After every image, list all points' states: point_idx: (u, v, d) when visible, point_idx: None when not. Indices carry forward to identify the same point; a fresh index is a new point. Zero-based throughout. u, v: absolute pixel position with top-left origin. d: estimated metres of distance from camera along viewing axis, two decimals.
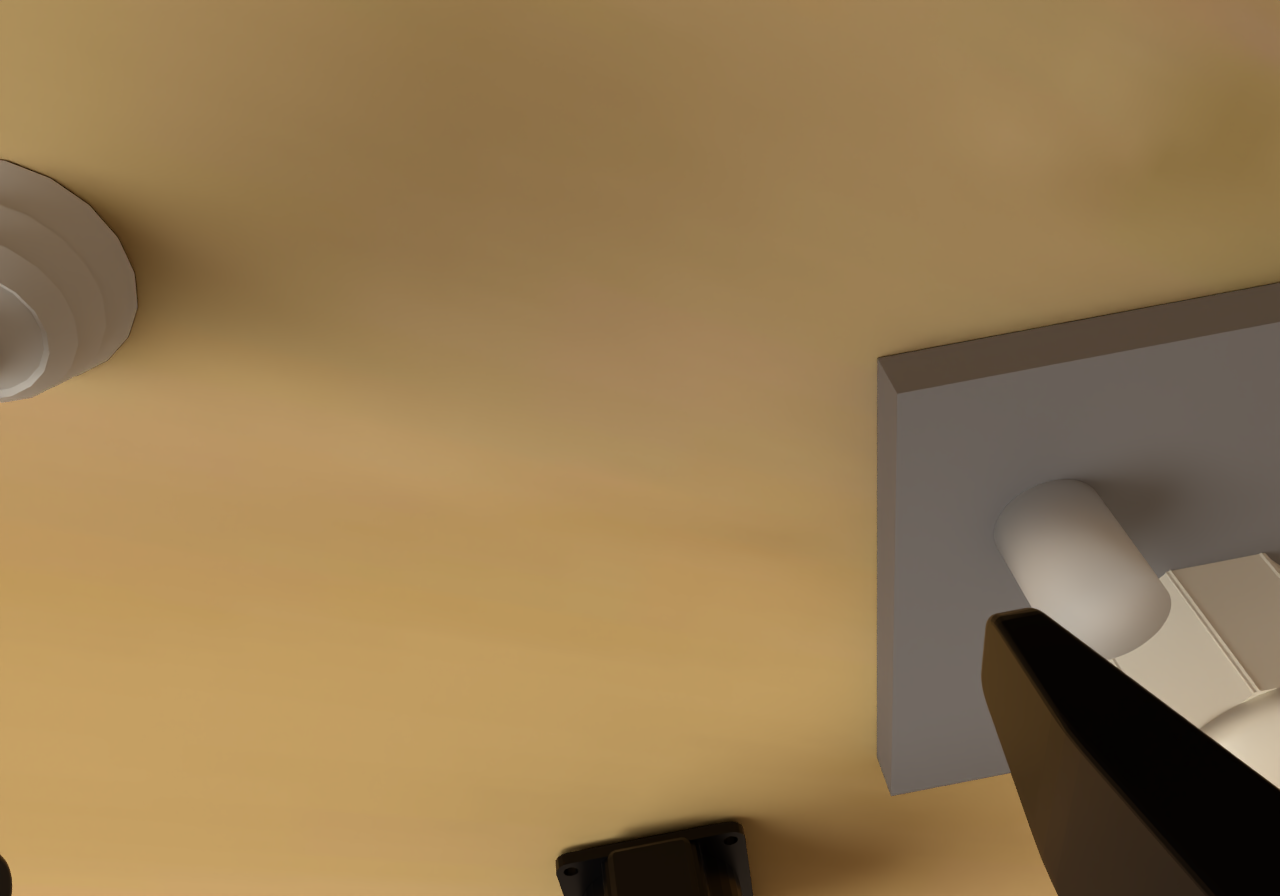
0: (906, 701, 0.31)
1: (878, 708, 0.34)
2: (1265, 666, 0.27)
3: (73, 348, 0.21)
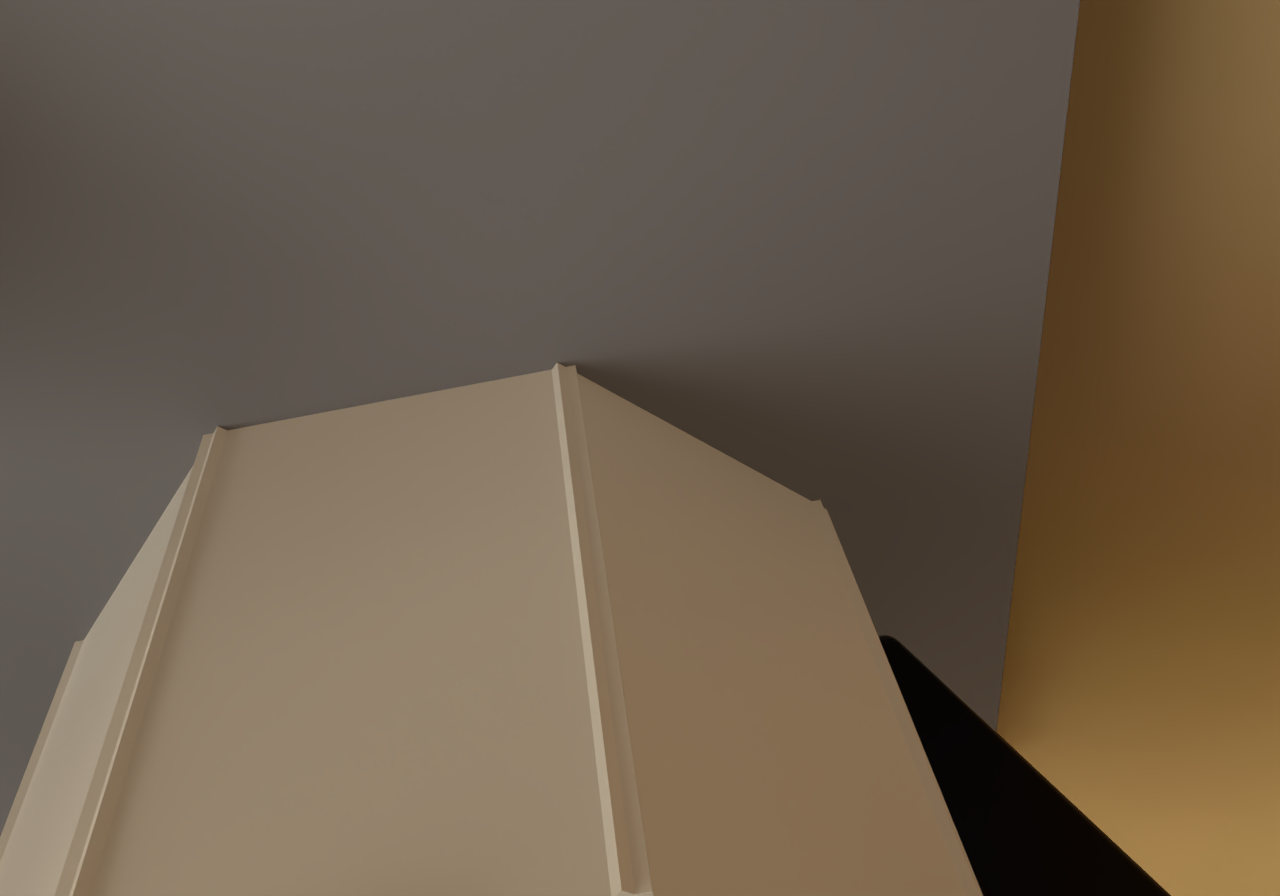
0: None
1: None
2: (201, 848, 0.05)
3: None
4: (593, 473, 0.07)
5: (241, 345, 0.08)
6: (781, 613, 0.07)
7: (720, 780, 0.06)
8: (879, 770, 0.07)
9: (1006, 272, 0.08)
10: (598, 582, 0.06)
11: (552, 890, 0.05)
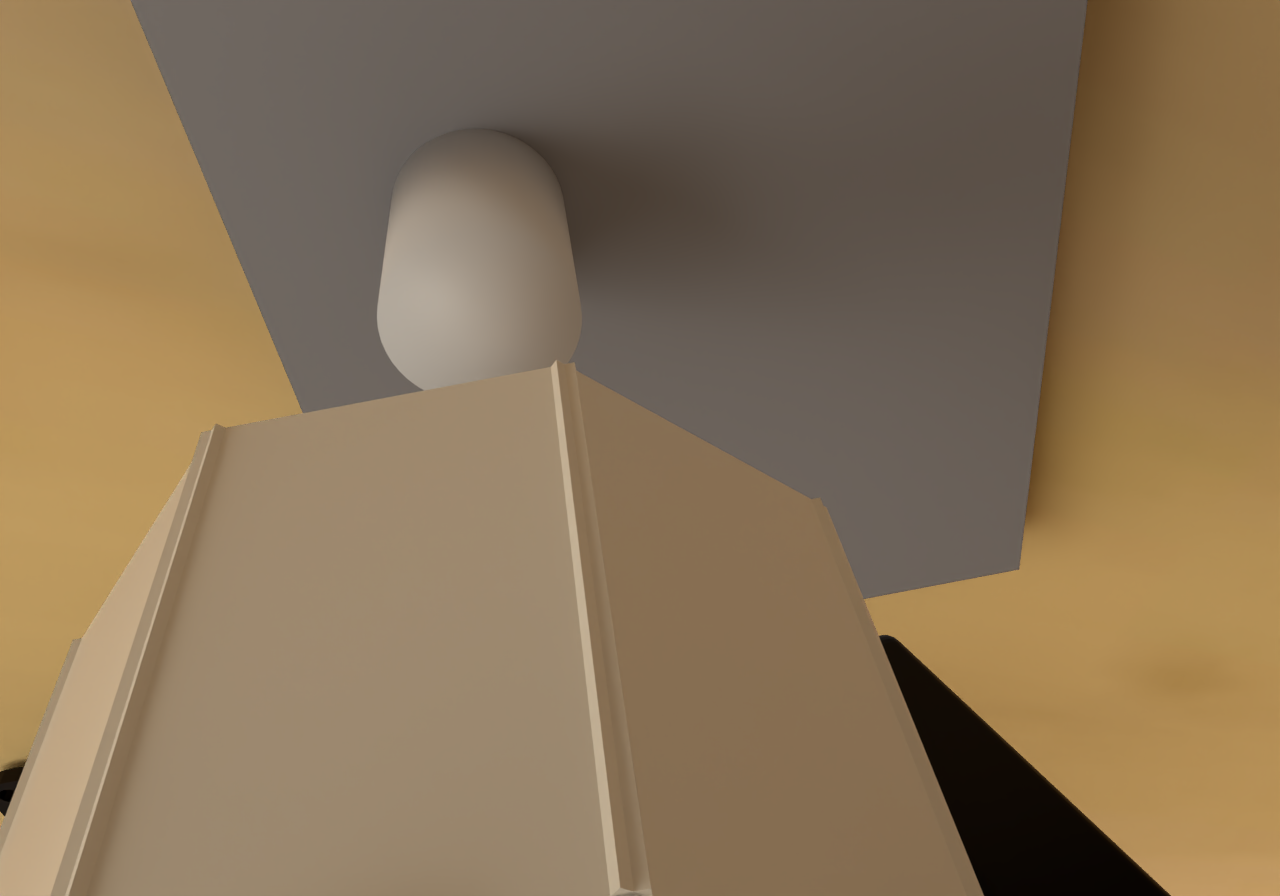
0: None
1: None
2: (198, 846, 0.05)
3: None
4: (591, 470, 0.07)
5: (736, 278, 0.19)
6: (780, 611, 0.07)
7: (718, 778, 0.06)
8: (879, 768, 0.07)
9: (1040, 250, 0.19)
10: (597, 579, 0.06)
11: (550, 887, 0.05)
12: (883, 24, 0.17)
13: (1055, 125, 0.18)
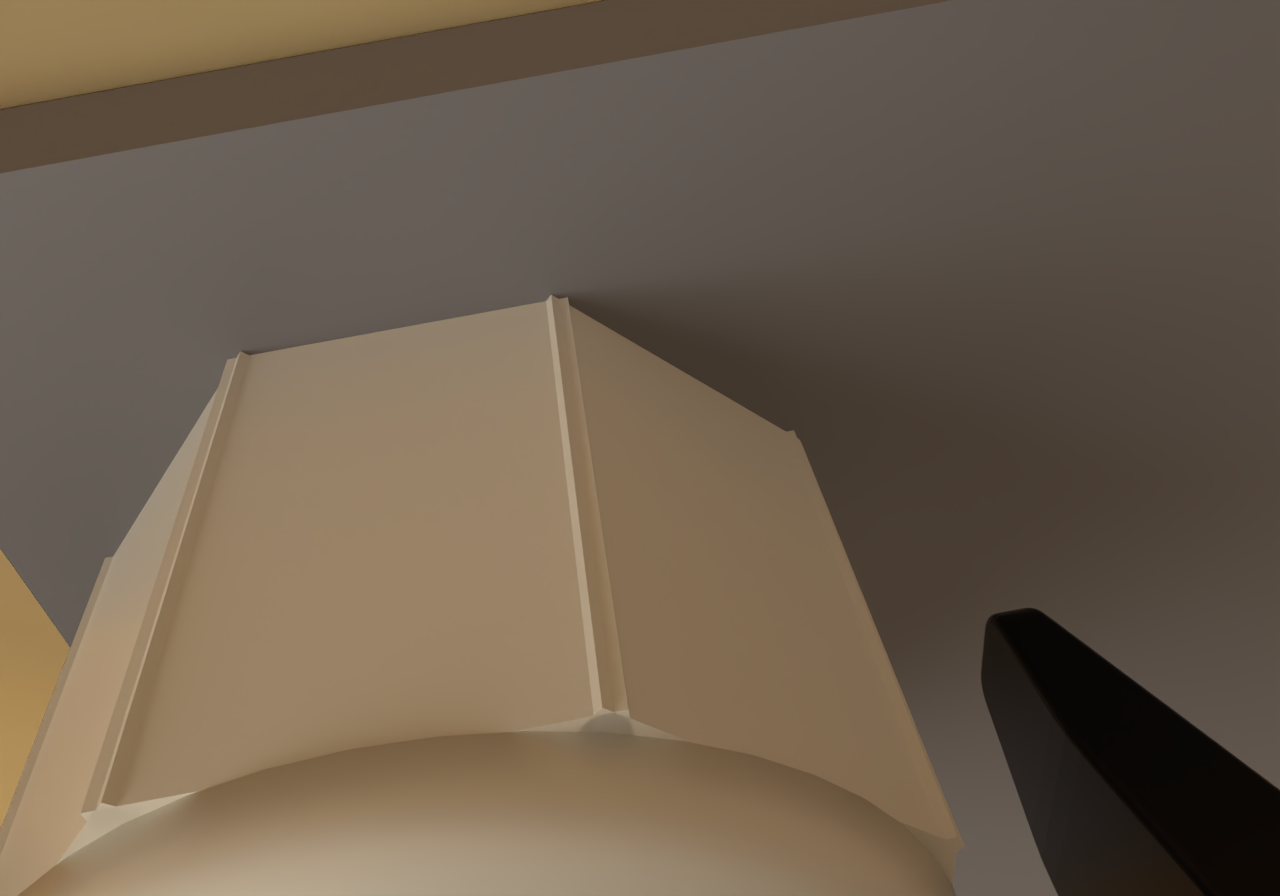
0: None
1: None
2: (236, 686, 0.06)
3: None
4: (582, 387, 0.08)
5: (890, 658, 0.12)
6: (753, 518, 0.08)
7: (690, 639, 0.06)
8: (838, 651, 0.07)
9: None
10: (585, 474, 0.07)
11: (542, 710, 0.05)
12: (1179, 319, 0.10)
13: None
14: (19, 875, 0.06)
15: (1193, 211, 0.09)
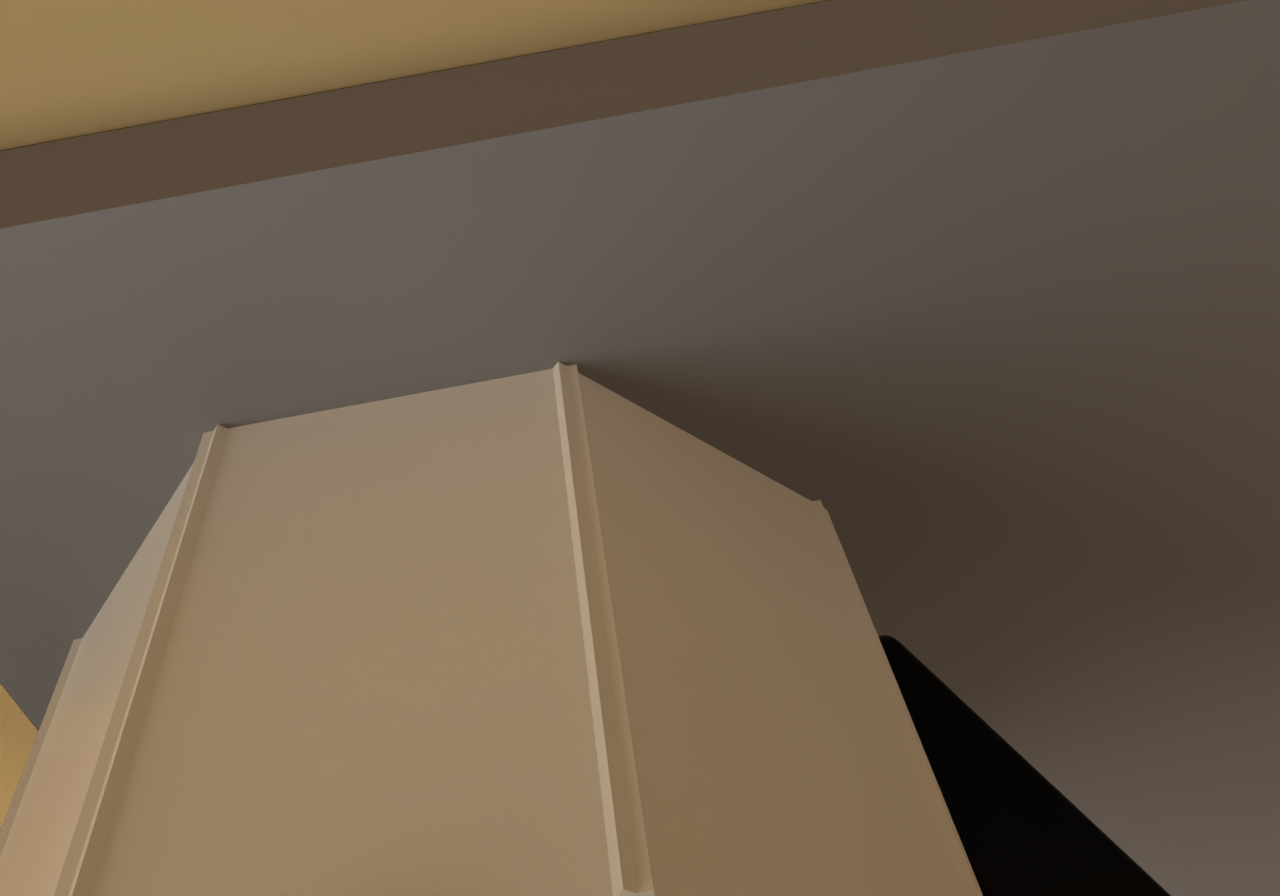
0: None
1: None
2: (201, 847, 0.05)
3: None
4: (594, 472, 0.07)
5: None
6: (782, 613, 0.07)
7: (720, 780, 0.06)
8: (880, 770, 0.07)
9: None
10: (599, 581, 0.06)
11: (554, 890, 0.05)
12: (1239, 380, 0.09)
13: None
14: None
15: (1259, 268, 0.08)
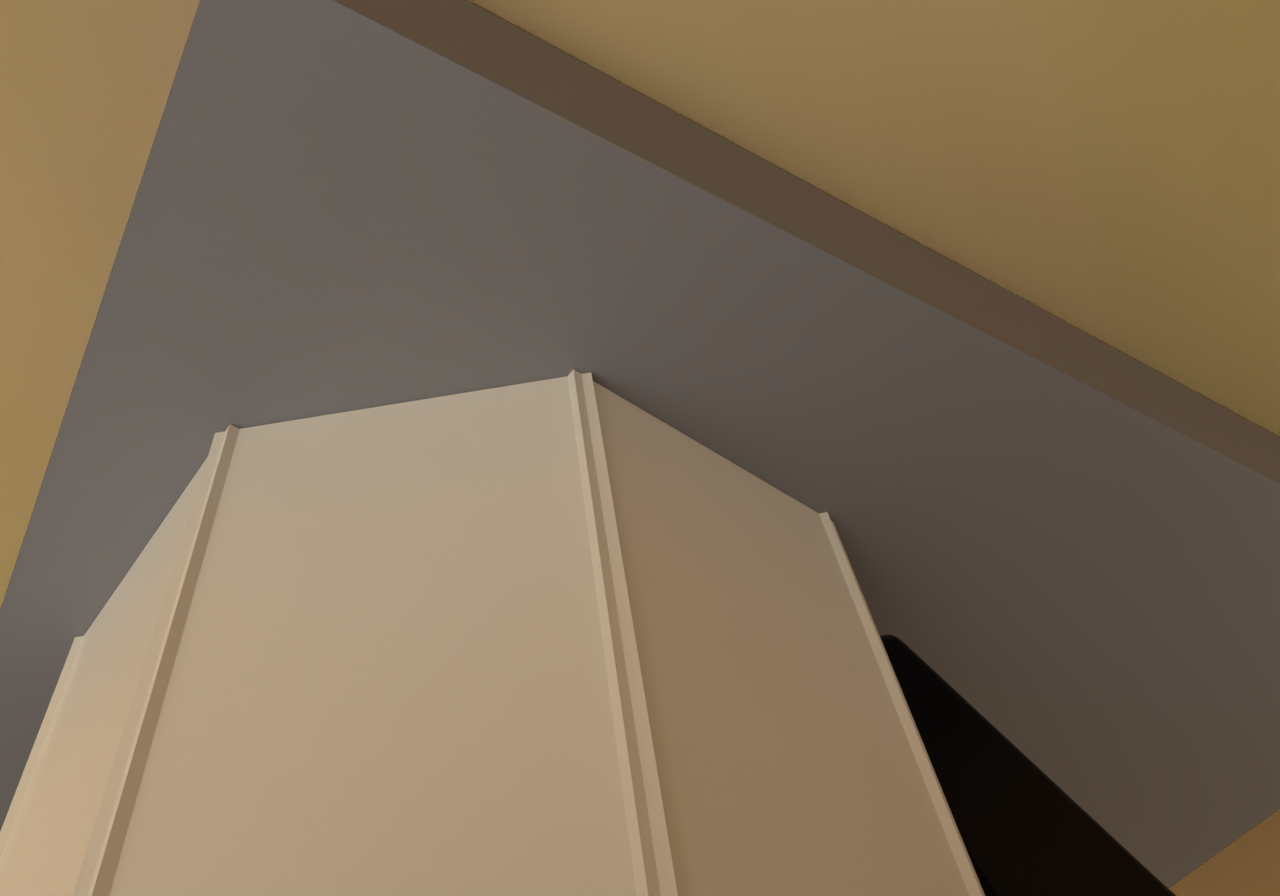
0: None
1: None
2: None
3: None
4: (210, 537, 0.07)
5: None
6: (443, 556, 0.07)
7: (241, 822, 0.05)
8: (530, 685, 0.06)
9: None
10: (159, 665, 0.06)
11: None
12: (1126, 726, 0.12)
13: (1160, 879, 0.14)
14: None
15: (1195, 663, 0.11)
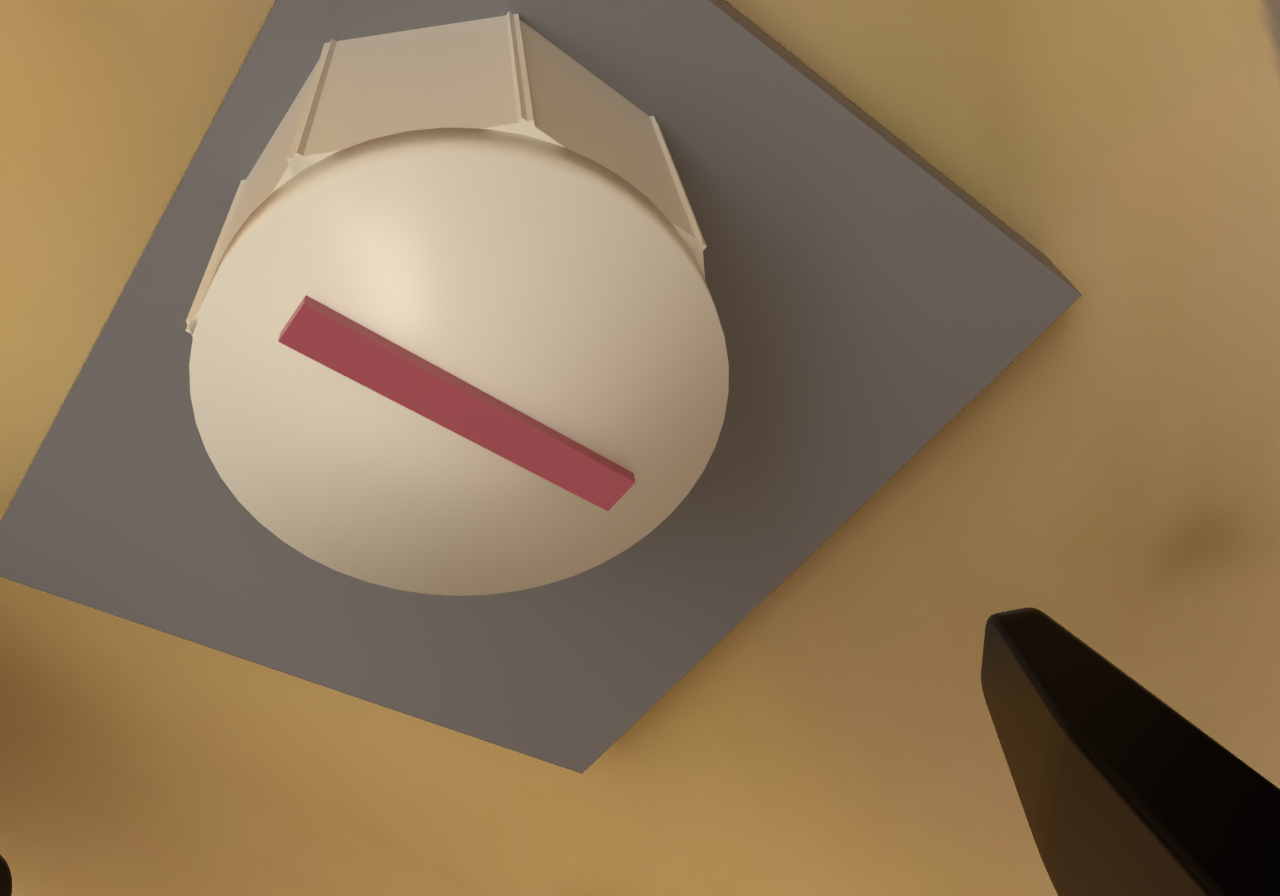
0: (93, 404, 0.18)
1: None
2: None
3: None
4: (330, 68, 0.14)
5: None
6: (442, 64, 0.14)
7: (360, 122, 0.13)
8: (480, 87, 0.13)
9: (793, 554, 0.23)
10: (314, 96, 0.14)
11: (276, 178, 0.12)
12: (840, 338, 0.20)
13: (870, 482, 0.22)
14: None
15: (878, 292, 0.19)
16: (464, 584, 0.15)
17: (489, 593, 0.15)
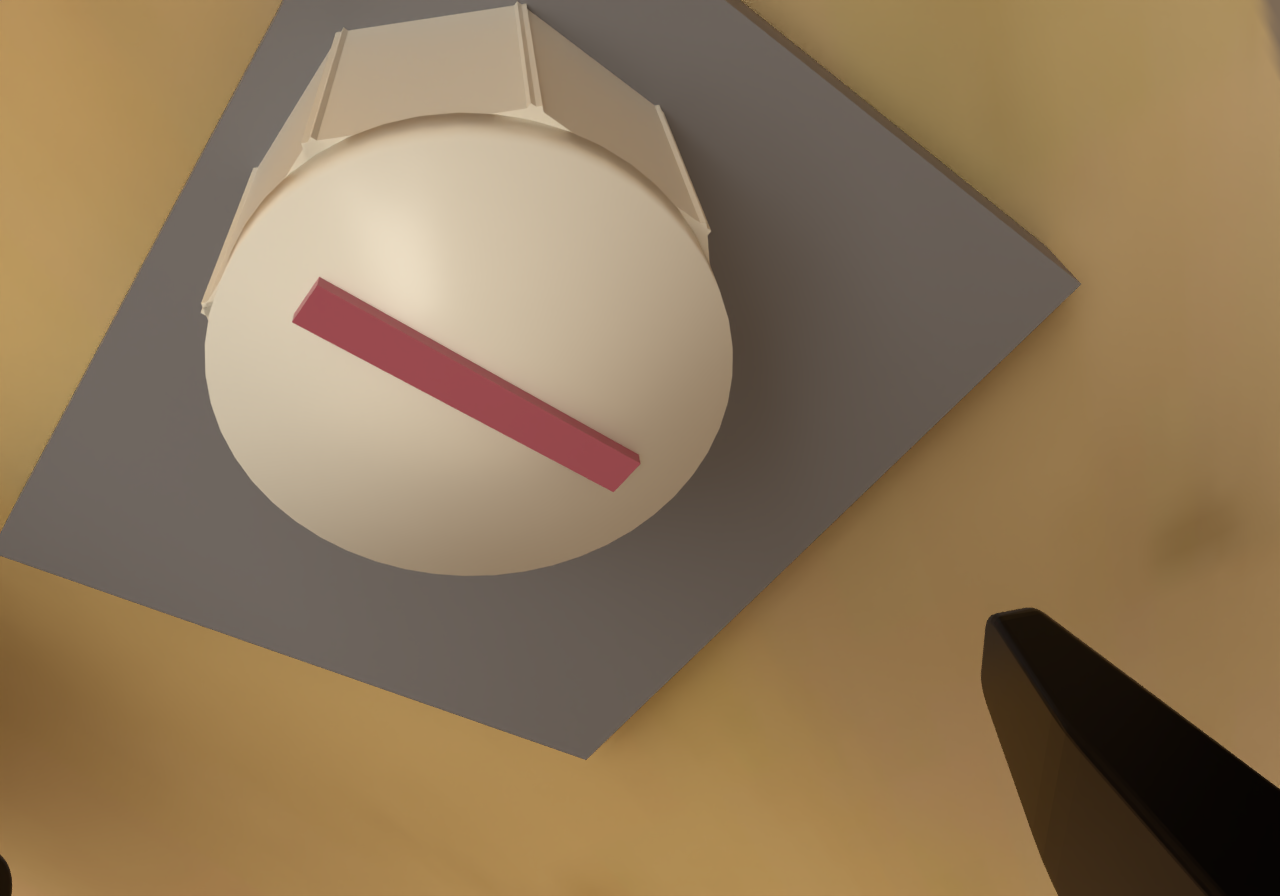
0: (107, 389, 0.19)
1: None
2: None
3: None
4: (341, 56, 0.15)
5: None
6: (451, 52, 0.14)
7: (371, 108, 0.13)
8: (489, 74, 0.13)
9: (795, 542, 0.23)
10: (326, 83, 0.14)
11: (290, 162, 0.12)
12: (842, 326, 0.20)
13: (871, 470, 0.22)
14: None
15: (880, 281, 0.19)
16: (472, 564, 0.15)
17: (496, 573, 0.16)
